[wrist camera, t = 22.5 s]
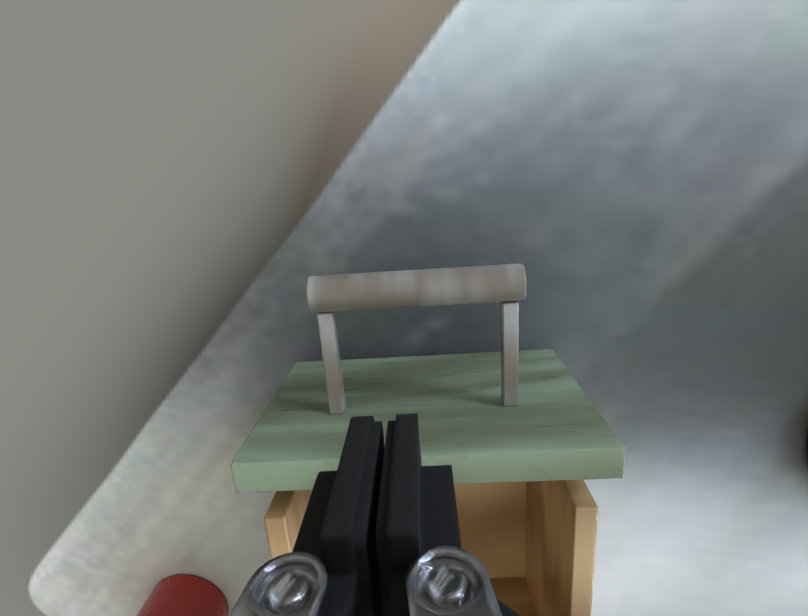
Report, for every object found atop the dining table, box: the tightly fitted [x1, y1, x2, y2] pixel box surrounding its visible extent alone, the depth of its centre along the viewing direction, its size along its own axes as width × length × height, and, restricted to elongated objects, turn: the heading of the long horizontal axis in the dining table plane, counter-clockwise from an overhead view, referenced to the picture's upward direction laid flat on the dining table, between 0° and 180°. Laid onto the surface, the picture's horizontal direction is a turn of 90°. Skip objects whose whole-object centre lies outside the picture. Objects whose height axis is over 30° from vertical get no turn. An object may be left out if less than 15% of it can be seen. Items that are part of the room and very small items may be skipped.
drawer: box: [231, 263, 626, 616], centre depth 21 cm, size 20×13×9 cm, turn 4°
